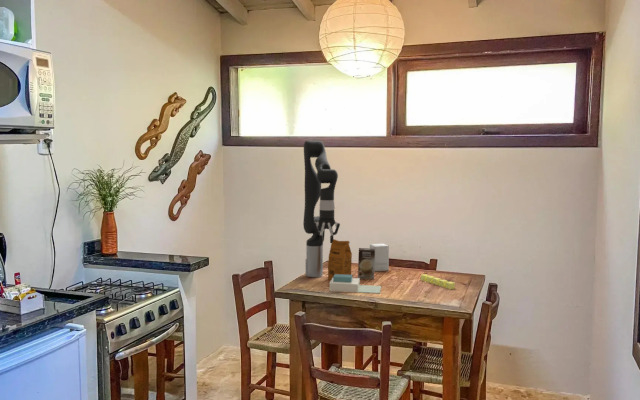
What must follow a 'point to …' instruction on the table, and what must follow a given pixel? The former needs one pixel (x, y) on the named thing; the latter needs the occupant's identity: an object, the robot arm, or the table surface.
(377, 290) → the mat
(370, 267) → the coffee box
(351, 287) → the white flat block
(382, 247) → the supplement box
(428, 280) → the yellow piece
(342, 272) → the coffee package
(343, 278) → the teal block
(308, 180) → the robot arm
